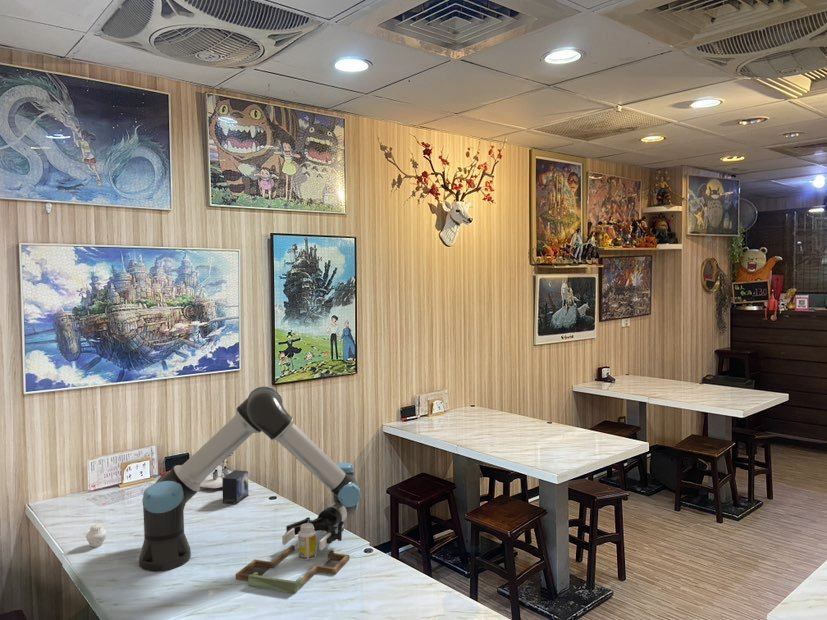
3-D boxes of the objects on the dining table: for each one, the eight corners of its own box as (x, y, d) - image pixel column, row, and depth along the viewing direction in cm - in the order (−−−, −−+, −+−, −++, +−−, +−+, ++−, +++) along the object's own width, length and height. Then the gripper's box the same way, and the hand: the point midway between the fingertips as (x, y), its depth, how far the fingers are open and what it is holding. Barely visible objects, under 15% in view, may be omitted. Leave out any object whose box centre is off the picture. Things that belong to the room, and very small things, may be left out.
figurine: (218, 492, 253) (219, 452, 254) (188, 486, 262) (190, 447, 263) (253, 483, 270) (255, 446, 271) (224, 477, 279) (226, 441, 280)
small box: (237, 504, 241) (236, 478, 240) (221, 503, 242) (221, 477, 241) (249, 495, 251) (248, 470, 251) (234, 494, 252) (234, 469, 252)
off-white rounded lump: (84, 550, 201) (83, 529, 201) (88, 542, 207) (88, 522, 207) (104, 547, 203) (104, 527, 202) (108, 540, 209) (108, 520, 208)
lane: (275, 547, 201) (275, 538, 201) (351, 557, 192) (351, 548, 192) (230, 583, 177) (230, 573, 177) (314, 596, 169) (314, 586, 169)
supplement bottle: (317, 552, 196) (316, 521, 196) (316, 560, 191) (315, 528, 190) (299, 553, 196) (298, 522, 195) (297, 561, 190) (297, 529, 190)
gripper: (365, 532, 207) (338, 559, 186) (300, 524, 214) (267, 550, 194) (364, 510, 206) (337, 535, 186) (300, 503, 214) (267, 526, 193)
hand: (301, 543), depth 190 cm, fingers open, 12 cm apart
